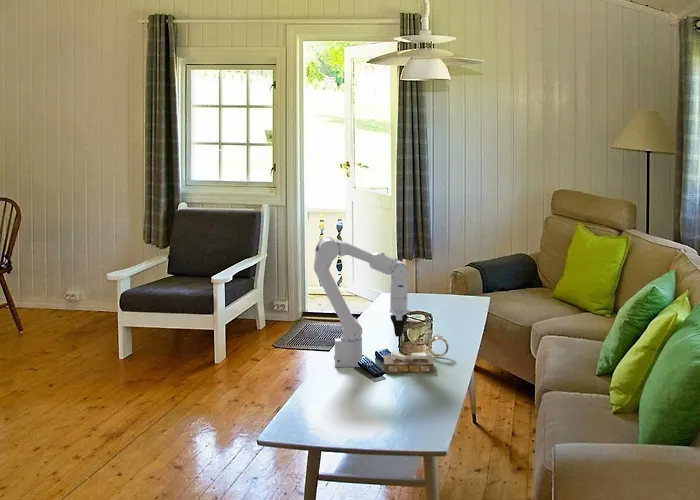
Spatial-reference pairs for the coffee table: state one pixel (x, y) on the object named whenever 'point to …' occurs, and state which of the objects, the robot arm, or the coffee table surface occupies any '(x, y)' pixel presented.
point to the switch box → (408, 365)
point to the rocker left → (398, 356)
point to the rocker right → (418, 355)
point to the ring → (438, 339)
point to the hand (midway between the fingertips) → (398, 336)
